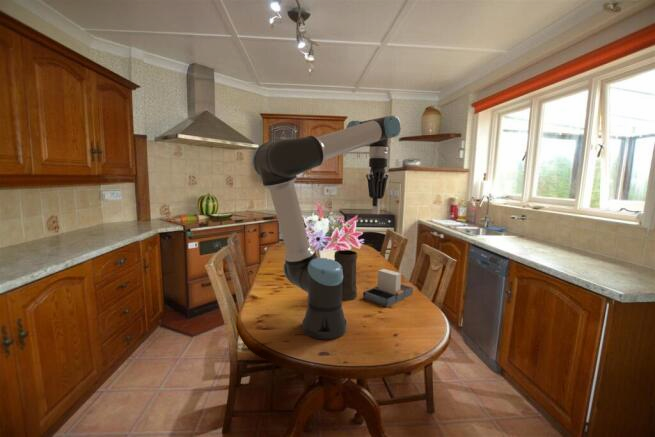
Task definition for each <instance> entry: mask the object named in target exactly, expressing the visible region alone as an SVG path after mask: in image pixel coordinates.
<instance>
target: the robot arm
mask: <svg viewBox="0 0 655 437" xmlns="http://www.w3.org/2000/svg"><path fill="white" fill-rule="evenodd" d="M401 131H402V125H401V120H400V118H399V117H398V116H396V115H386V116H383V117H378V118H373V119H368V120H363V121H359V120H350V121H349V122H348V123H347V125H346V128H343V129H339V130H336V131H332V132H329V133H326V134H323V135H320V136H315V135H313V134H311V135H307V136H304V137H297V138H284V139H280V140H279V139H277V140H273V141H272V140H271V141H267V142H264V143H262V144H260V145H258V146H257V147H256V148H255V150H254V151H253V154H252V159H251V164H252V167H253V169H254V171H255V172H256V173H257V175H259V176H260V179H261V182H262V185H263V187H264V188H265V189H267V190H269V192H270V197H271V200H272V204H273V207H274V210H275V211H274V212H275V215H276V218H277V221H278V226H279V228H280V233H281V235H282V239H283V242H284V246H285V251H286V253H285V254H284V257H283V258H284V264H283V275H284V277H285V278H286V279H287V280H288V281H289V282H290V283H291V284H293V285H294V286H296V287H298V288H299V289H301V290H303V291H304V292H306V293H307V308H306V311H305V315H304V318H303V319H302V331H303V333H304V334H305V335H306V336H308V337H309V338H312V339H315V340H316V339H317V340H326V341H327V340H334V339H337V338H340V337H342V336H343V335H344V334H345V333H347V325H348V324H347V320H346V317H345V314H344V310H343V300H342V289H343V269H342V266H341V265H340V264H339V263H338V262H337V261H335V259H331V258H327V257H318V256H317V253H316V250H315V247H313V246H311V245H310V242H309V237H308V234H307V229H306V227H305V223H304V219H303V213H302V210H301V206H300V203H299V199H298V198H299V197H298V194H297V190H296V187H295V182H296V181H297V179H298V177H297V175H300V174H303V173H305V172H308V171H310V170H312V169H314V168H317V167H319V166H321V165H323V163H324V161H327V160H330V159H333V158H335V157H338V156H341V155H343V154H346V153H349V152H351V151H355V150H357V149H360V148H363V147H366V146H369V151H368V157H369V160H368V167H369V168H370V169H369V173H367V174H366V175H365V177H366V179H367V188H368V197H369V198H370V199H372V212H371V214H373V215H374V214H375V215H379V214H380V213H381V212H380V210H381V209H380V208H381V200H382V199H383V198H384V197H385V192H386V188H387V182H388V178H389V174H386V168H387V166H388V159H387V158H388V148H389V139H392V138H396V137H398V136H399V135H400V133H401Z"/></svg>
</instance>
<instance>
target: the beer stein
mask: <svg viewBox="0 0 655 437" xmlns="http://www.w3.org/2000/svg"><path fill="white" fill-rule="evenodd" d="M333 257H334V258H333V259H334V260H335V261H337V262H338V263H339V264H340V265H341V266H342V269H343V289H342V301H349V300H350V301H351V300H353V299H356V298H357V297H358V292H357V290H358V288H357V258H358V252H357V251H354V250H348V249H346V250H345V249H342V250H341V249H339V250H336V251H335V252H334V256H333Z"/></svg>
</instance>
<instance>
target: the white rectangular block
mask: <svg viewBox="0 0 655 437" xmlns="http://www.w3.org/2000/svg"><path fill="white" fill-rule="evenodd" d="M377 274H378V275H377V286H378V289H380V290H383V291H386V292H389V293H392V294H395V295H396V293H397V292H399V291H400V287H401V284H402V283H401V282H402V273H401V272H397V271H394V270H390V269H385V268H382V269H379V270H378V273H377Z"/></svg>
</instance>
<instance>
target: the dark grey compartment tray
mask: <svg viewBox="0 0 655 437" xmlns="http://www.w3.org/2000/svg"><path fill="white" fill-rule="evenodd" d="M413 291H414V288H413V287H411V286H409V285H405V284H402V283H401V287H400V291H399V292H397V293H396V295H395V294H392V293H389V292H386V291H383V290H380V289H378V285H377V286H375V287H372V288H370V289H367V290H364V291H363V294H362V299H364V300H366V301H368V302H371V303H374V304H377V305H379V306H382V307H385V308H388V307H390V306H392V305H393V304H396V303H398V302H400V301H401V300H403V299H404V300H405V298H408V297H409V296H411V295H413Z"/></svg>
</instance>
